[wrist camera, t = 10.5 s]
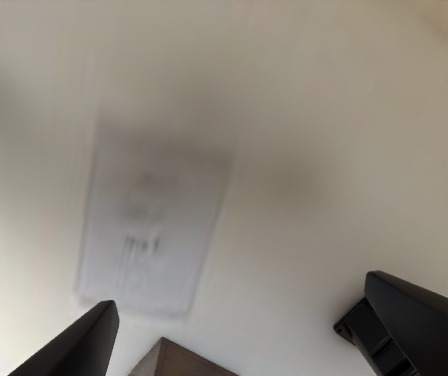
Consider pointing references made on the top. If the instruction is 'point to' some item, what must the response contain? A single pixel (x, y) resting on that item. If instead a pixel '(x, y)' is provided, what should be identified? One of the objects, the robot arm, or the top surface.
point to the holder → (176, 362)
